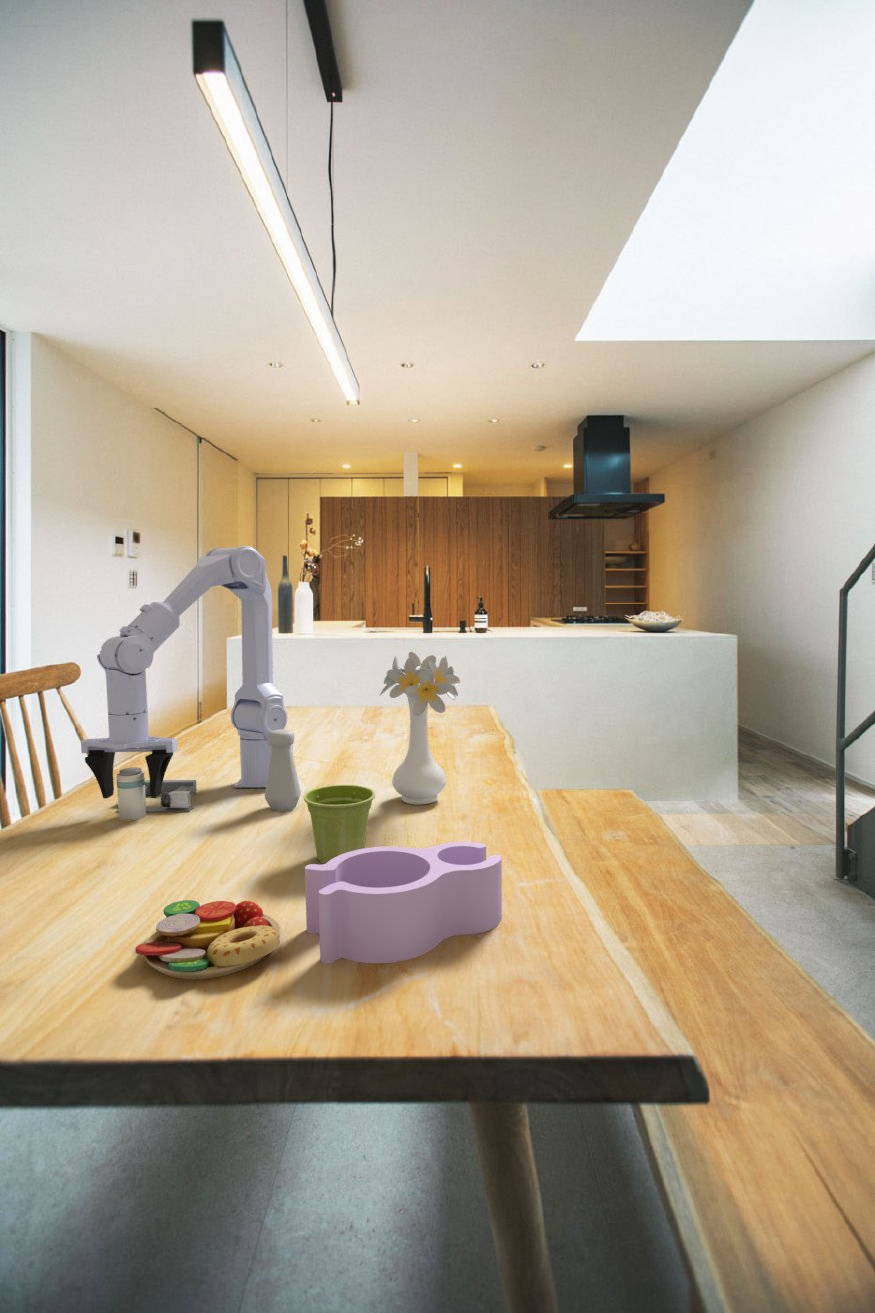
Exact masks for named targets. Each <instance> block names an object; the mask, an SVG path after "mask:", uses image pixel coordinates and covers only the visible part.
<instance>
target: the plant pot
mask: <svg viewBox="0 0 875 1313" xmlns="http://www.w3.org/2000/svg"><path fill="white" fill-rule="evenodd" d="M375 796H376V792H375V790H373V789H372V788H369V787H367V786H362V785H357V784H356V785H355V784H335V785H334V784H333V785H332V784H331V785H325V786H320V787H317V788H316V787H315V788H313V789H310V790H308V791H307V792H305V793H304V795H303V801H304V802H305V803H306V806H307V810H308V812H309V814H310V815H309V816H310V820H311V825H312V826H311V827H312V833H313V840H314V846H315V852H316V858H317V859H318V860H319V862H320V863H321V864H326V863H327V862H328V861H330V860H331V859H333V858H335V857H337V856H339V855H341V854H344V853H347V852H350V851H354V850H358V849H364V848H366V847H365V845H366V836H367V830H368V822H369V814H370V809H371V808H372V802H373V800H374V799H375V798H376V797H375Z"/></svg>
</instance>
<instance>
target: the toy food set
mask: <svg viewBox="0 0 875 1313" xmlns="http://www.w3.org/2000/svg"><path fill="white" fill-rule="evenodd" d="M163 914H164V916H165V917H164V918H163V919H161V920H159V921H158V922H157V923H156V926H155V932H154V933H153V934H152V935H151V936H150V937H148V939H147V940H146V941H145V943H142V944H138V945H137V946H136V947H135V954H138V955H142V956H143V957H144V959H145V961H146V963H147V964H148V965H149V966H150V967H152V968H153V969H155V970H156V971H158V972H159V973H161V974H162V975H166V976H168V977H172V978H174V979H175V978H176V979H181V980H182V979H183V980H207V979H213V978H214V979H215V978H219V977H223V976H228V975H230V974H231V975H232V974H234V973H237V972H240V971H243V970H245V969H247V968H250V967H252V966H253V965H254V964H255V965H256V964H257V963H258V962H259V961H261V960H262V959H264V958H265V956H267V955H269V954H270V953H272V952H274V951H275V950H276V949H278V947H279V946H280V943H281V941H280V940H281V939H280V937H281V934H282V933H281V932H282V931H281V929H282V928H281V926H280V924H279V922H277V920H276V919H274V918H273V917H272V916H269V915H267V914H265V913H264V911H263V909H262V907H261V906H260V905H259V904H257V903H256V902H254V901H251V900H243V901H240V902H238V903H237V904H236V903H235V901H234V900H233V901H226V900H216V901H211V902H207V903H204V904H202V905H200V902H199V901H196V900H192V899H188V900H187V899H186V900H178V901H174V902H172V903H169V904H167V905H166V906H165V907H164V908H163Z"/></svg>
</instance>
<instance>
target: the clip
mask: <svg viewBox="0 0 875 1313" xmlns="http://www.w3.org/2000/svg"><path fill="white" fill-rule="evenodd" d="M502 859H503V857H502V855H500V854H490V855H489V856H488V857H487V844H485V843H481V842H480V843H479V842H473V841H452V842H445V843H441V844H440V843H439V844H437V845H433V846H429V847H424V848H422V847H421V848H419V847H418V848H417V847H416V848H414V847H407V846H406V847H405V846H374V847H373V846H372V847H364V849H358V850H354V851H350V852H347V853H344V854H341V855H339V856H337V857H335V858H333V859H331V860H330V861H328V862H327V863H326V864H324V863H322V864H316V863H311V864H308V865H306V866H305V867H304V883H305V884H304V885H305V889H304V890H305V915H306V916H305V917H306V918H305V919H306V920H305V921H306V923H305V924H306V933H310V934H316V935H317V934H318V935H319V962H321V963H323V964H326V965H327V964H333V963H334V962H335V961H337V960H338V959H347V960H350V961H353V962H359V963H364V964H365V963H366V964H391V963H396V962H397V963H398V962H403V961H408V960H411V959H414V958H418V957H420V956H423V955H425V954H426V953H429V952H430V951H432V950H433V949H435V948H436V947H437V946H438V945H439V944H440V943H441V942H443V940H445V939H448V938H450V937H454V936H458V935H462V936H463V935H477V934H481V933H484V932H488V931H491V930H493V929H494V928H496V927H498V926H499V925H500V923H501V922H502V921H503V920H502V919H503V895H502V894H503V886H502V885H503V874H502V873H503V871H502V870H503V865H502V864H503V860H502Z"/></svg>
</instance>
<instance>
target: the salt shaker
mask: <svg viewBox="0 0 875 1313" xmlns="http://www.w3.org/2000/svg"><path fill="white" fill-rule="evenodd" d="M267 740H268V745H270V746H272V749H271V756H270V764H269V771H268V777H267V784H266V787H265V791H264V798H265V802H266V803H267V804H268V806H269V808H270V809H271V811H272V812H277V813H284V812H290V811H293V810H294V809H296V807H297V804H298V801H299V799H300V797H301V793H302V791H301V786H300V782H299V781H300V780H299V777H298V772H297V768H296V764H295V759H294V752H293V753H292V749H291V745H292V744H294V742H295V733H294V732H293V731H292V730H290V729H286V728H284V729H280V730H274V731H271V732H270V733H269V734H268V738H267Z"/></svg>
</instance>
